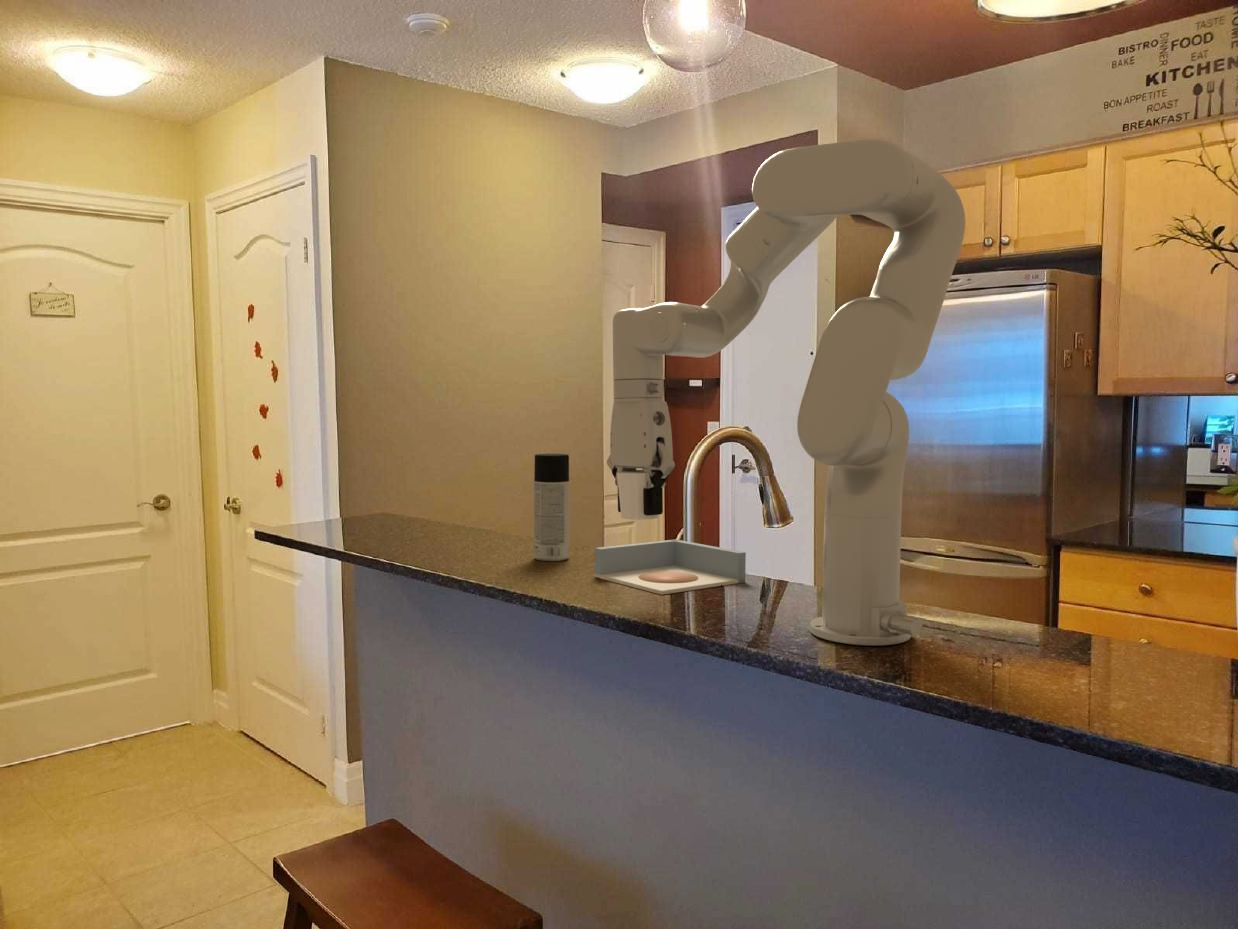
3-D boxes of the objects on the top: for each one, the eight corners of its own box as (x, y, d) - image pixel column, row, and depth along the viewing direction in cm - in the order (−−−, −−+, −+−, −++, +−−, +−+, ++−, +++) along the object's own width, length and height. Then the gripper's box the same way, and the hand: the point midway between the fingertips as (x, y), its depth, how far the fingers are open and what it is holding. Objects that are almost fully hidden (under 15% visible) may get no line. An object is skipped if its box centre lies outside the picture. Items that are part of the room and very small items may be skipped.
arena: (745, 582, 153) (745, 552, 152) (661, 594, 142) (661, 562, 142) (675, 566, 167) (675, 539, 167) (594, 577, 156) (594, 548, 156)
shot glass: (663, 515, 141) (663, 469, 141) (661, 520, 134) (661, 472, 134) (619, 515, 142) (618, 469, 141) (614, 520, 135) (614, 472, 134)
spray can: (576, 558, 176) (576, 454, 175) (555, 563, 170) (555, 455, 169) (548, 555, 179) (548, 453, 178) (526, 559, 174) (526, 454, 172)
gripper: (695, 390, 132) (696, 515, 133) (624, 394, 146) (625, 507, 147) (655, 390, 128) (656, 519, 129) (585, 394, 142) (587, 510, 142)
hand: (640, 511), depth 138 cm, fingers closed on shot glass, 5 cm apart
